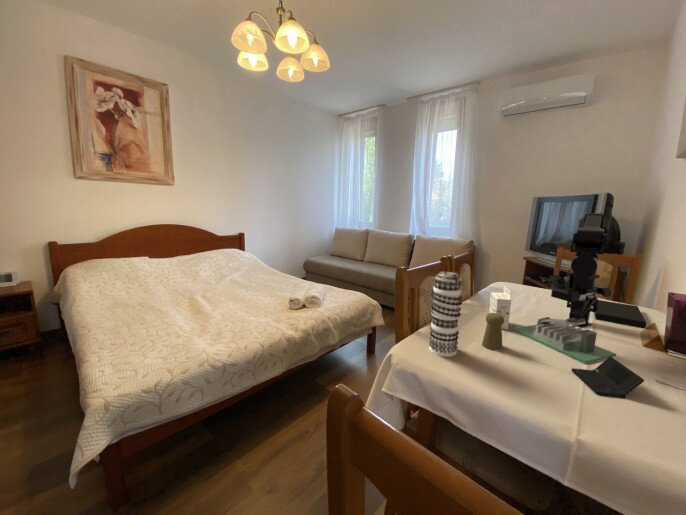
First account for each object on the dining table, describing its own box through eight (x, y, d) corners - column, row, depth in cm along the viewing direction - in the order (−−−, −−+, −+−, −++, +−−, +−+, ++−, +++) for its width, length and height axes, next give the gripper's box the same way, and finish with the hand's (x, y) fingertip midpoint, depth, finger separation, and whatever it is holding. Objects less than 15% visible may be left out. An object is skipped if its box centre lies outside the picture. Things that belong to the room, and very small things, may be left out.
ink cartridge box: (487, 319, 116) (491, 284, 113) (500, 320, 115) (504, 285, 112) (494, 328, 108) (497, 290, 105) (508, 329, 107) (512, 291, 104)
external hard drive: (595, 320, 117) (596, 313, 117) (593, 305, 135) (594, 299, 134) (645, 329, 108) (646, 322, 108) (636, 312, 126) (637, 306, 125)
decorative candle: (421, 346, 94) (425, 271, 90) (443, 341, 98) (448, 269, 93) (441, 359, 86) (447, 278, 81) (464, 353, 89) (471, 275, 85)
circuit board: (540, 325, 110) (541, 323, 110) (616, 356, 88) (616, 353, 88) (513, 330, 106) (513, 328, 106) (584, 364, 84) (585, 361, 84)
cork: (500, 343, 96) (504, 312, 94) (504, 352, 90) (507, 318, 88) (480, 340, 98) (483, 309, 96) (483, 348, 92) (486, 316, 90)
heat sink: (552, 329, 105) (554, 313, 104) (602, 349, 91) (605, 331, 90) (527, 333, 102) (529, 317, 100) (575, 355, 87) (578, 336, 86)
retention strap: (547, 319, 103) (546, 315, 103) (586, 323, 91) (585, 318, 91) (538, 321, 102) (537, 316, 102) (576, 325, 90) (575, 319, 90)
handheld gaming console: (564, 365, 80) (595, 341, 77) (581, 379, 81) (611, 356, 79) (597, 397, 69) (635, 371, 66) (616, 412, 70) (653, 387, 68)
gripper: (576, 264, 99) (571, 307, 102) (537, 267, 93) (532, 313, 96) (615, 270, 89) (608, 318, 91) (574, 274, 83) (567, 325, 86)
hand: (577, 318), depth 91 cm, fingers closed, pressing on retention strap
